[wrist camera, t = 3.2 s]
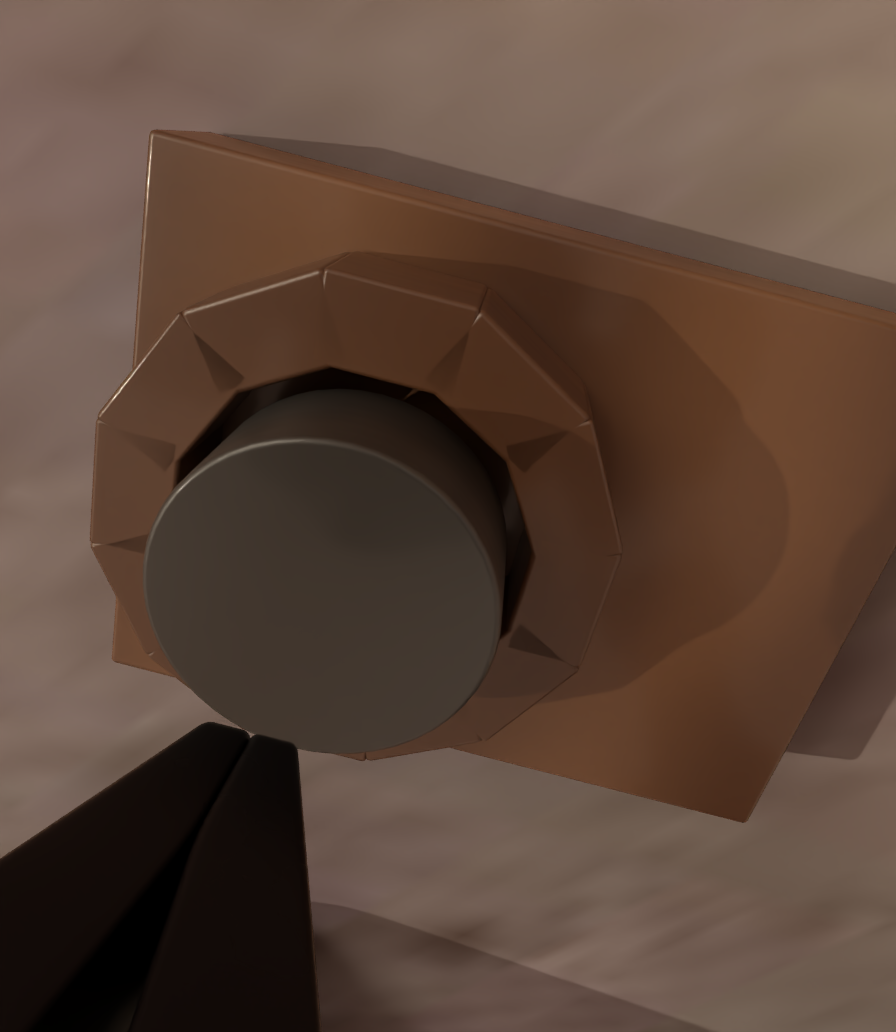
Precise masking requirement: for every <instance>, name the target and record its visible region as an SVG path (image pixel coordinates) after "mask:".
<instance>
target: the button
mask: <svg viewBox="0 0 896 1032" xmlns="http://www.w3.org/2000/svg"><path fill="white" fill-rule="evenodd" d="M506 553H507V534H506V523H505V518H504V513H503V509H502V505H501V502H500V499H499V497H498V494H497V491H496V488H495V486H494V484H493V482H492V480H491V479H490V477H489V475H488V473H487V471H486V469H485V468H484V466H483V465H482V463H481V462H480V461H479V459H478V458H477V456H476V455H475V454H474V452H473V451H472V450H471V449H470V448H469V447H468V446H467V445H466V444H465V443H464V442H463V440H462V439H461V438H460V437H459V436H458V435H456V434H455V433H454V432H453V431H452V430H450V429H449V428H448V427H447V426H446V425H444V424H443V423H442V422H440V421H439V420H437V419H436V418H434V417H433V416H431V415H429V414H428V413H426V412H425V411H423V410H421V409H419V408H417V407H415V406H412V405H410V404H408V403H406V402H404V401H401V400H398V399H395V398H392V397H389V396H386V395H383V394H378V393H373V392H368V391H363V390H352V389H326V390H315V391H310V392H305V393H300V394H296V395H293V396H290V397H288V398H285V399H282V400H279V401H277V402H275V403H273V404H271V405H269V406H267V407H265V408H263V409H261V410H259V411H258V412H257V413H255V414H254V415H252V416H251V417H250V418H248V419H247V420H245V421H244V422H243V423H242V424H241V425H240V426H239V427H238V428H237V429H236V430H235V431H233V432H232V433H231V434H230V435H229V436H228V437H227V438H226V439H225V440H224V441H223V442H222V443H221V444H220V445H219V446H218V447H217V448H215V449H214V450H213V451H212V452H211V453H210V454H209V455H208V456H207V457H206V458H205V459H204V460H203V461H202V462H201V463H200V464H199V465H197V466H196V467H195V468H194V469H193V470H192V471H191V472H190V473H189V474H188V475H187V476H186V477H185V478H184V479H183V480H182V481H181V482H180V483H179V484H178V485H177V486H176V487H175V488H174V489H173V491H172V492H171V493H170V495H169V496H168V497H167V499H166V500H165V501H164V503H163V504H162V506H161V508H160V510H159V512H158V514H157V516H156V518H155V520H154V521H153V524H152V527H151V530H150V533H149V536H148V539H147V542H146V548H145V554H144V560H143V591H144V599H145V606H146V610H147V613H148V617H149V620H150V624H151V627H152V629H153V632H154V634H155V636H156V639H157V641H158V643H159V645H160V647H161V649H162V651H163V652H164V654H165V656H166V657H167V659H168V661H169V663H170V664H171V665H172V667H173V668H174V669H175V671H176V672H177V673H178V675H179V676H180V677H181V679H182V680H183V681H184V682H185V683H186V684H187V685H188V686H189V687H190V688H191V689H192V691H193V692H194V693H195V694H196V695H197V696H198V697H199V698H201V699H202V700H203V701H204V702H205V703H207V704H208V705H209V706H210V707H211V708H212V709H214V710H215V711H216V712H218V713H219V714H221V715H222V716H224V717H225V718H227V719H228V720H230V721H231V722H233V723H234V724H236V725H238V726H240V727H242V728H244V729H245V730H247V731H249V732H251V733H253V734H256V735H257V734H261V735H265V736H269V737H273V738H277V739H281V740H285V741H289V742H292V743H294V744H295V746H296V748H297V749H302V750H307V751H312V752H322V753H332V754H355V753H364V752H373V751H379V750H383V749H387V748H391V747H396V746H399V745H401V744H404V743H407V742H410V741H412V740H415V739H417V738H419V737H421V736H423V735H425V734H427V733H429V732H431V731H433V730H434V729H436V728H437V727H439V726H440V725H442V724H443V723H445V722H446V721H447V720H449V719H450V718H451V717H452V716H453V715H455V714H456V713H457V712H458V711H459V710H460V709H461V708H462V707H463V706H464V705H465V704H466V703H467V702H468V701H469V700H470V698H471V697H472V696H473V695H474V694H475V692H476V691H477V690H478V689H479V687H480V685H481V684H482V682H483V680H484V679H485V677H486V675H487V674H488V672H489V670H490V667H491V665H492V662H493V660H494V657H495V655H496V652H497V648H498V643H499V639H500V635H501V625H502V612H503V597H504V582H505V567H506Z"/></svg>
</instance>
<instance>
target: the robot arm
mask: <svg viewBox="0 0 896 1032" xmlns="http://www.w3.org/2000/svg"><path fill="white" fill-rule="evenodd" d="M0 1032H321V1020H320V1008H319V996H318V984H317V973H316V961H315V949H314V937H313V926H312V914H311V902H310V890H309V878H308V867H307V855H306V843H305V831H304V820H303V808H302V796H301V784H300V772H299V761H298V750H297V748H296V746H295V744H294V743H292V742H289V741H285V740H281V739H277V738H273V737H269V736H265V735H261V734H257V735H254V736H252V737H251V738H250V736H249V734H248V733H247V732H246V731H245V730H242V729H238V728H234V727H230V726H226V725H222V724H218V723H214V722H207V723H203V724H201V725H199V726H198V727H196V728H195V729H193V730H192V731H190V732H189V733H187V734H186V735H184V736H183V737H181V738H180V739H178V740H177V741H175V742H174V743H172V744H171V745H169V746H168V747H166V748H165V749H163V750H162V751H160V752H159V753H157V754H156V755H154V756H153V757H152V758H150V759H149V760H147V761H146V762H144V763H143V764H141V765H140V766H138V767H137V768H135V769H134V770H132V771H131V772H129V773H128V774H126V775H125V776H123V777H122V778H120V779H119V780H117V781H116V782H114V783H113V784H111V785H110V786H108V787H107V788H105V789H104V790H102V791H101V792H99V793H98V794H96V795H95V796H93V797H92V798H90V799H89V800H87V801H86V802H84V803H83V804H81V805H80V806H78V807H77V808H75V809H74V810H72V811H71V812H69V813H68V814H66V815H65V816H63V817H62V818H60V819H59V820H57V821H56V822H54V823H53V824H51V825H50V826H48V827H47V828H45V829H44V830H42V831H41V832H39V833H38V834H36V835H35V836H33V837H32V838H30V839H29V840H27V841H26V842H24V843H23V844H21V845H20V846H18V847H17V848H15V849H14V850H12V851H11V852H9V853H8V854H6V855H5V856H3V857H2V858H0Z"/></svg>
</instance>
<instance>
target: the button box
mask: <svg viewBox="0 0 896 1032" xmlns="http://www.w3.org/2000/svg"><path fill="white" fill-rule="evenodd" d="M326 389H352V390H363V391H368V392H373V393H378V394H383V395H386V396H389V397H392V398H395V399H398V400H401V401H404V402H406V403H408V404H410V405H412V406H415V407H417V408H419V409H421V410H423V411H425V412H426V413H428V414H429V415H431V416H433V417H434V418H436V419H437V420H439V421H440V422H442V423H443V424H444V425H446V426H447V427H448V428H449V429H450V430H452V431H453V432H454V433H455V434H456V435H458V436H459V437H460V438H461V439H462V440H463V442H464V443H465V444H466V445H467V446H468V447H469V448H470V449H471V450H472V451H473V452H474V454H475V455H476V456H477V458H478V459H479V461H480V462H481V463H482V465H483V466H484V468H485V469H486V471H487V473H488V475H489V477H490V479H491V480H492V482H493V484H494V486H495V488H496V491H497V494H498V497H499V499H500V502H501V505H502V509H503V513H504V518H505V523H506V534H507V553H506V567H505V582H504V597H503V612H502V625H501V635H500V639H499V643H498V648H497V652H496V655H495V657H494V660H493V662H492V665H491V667H490V670H489V672H488V674H487V675H486V677H485V679H484V680H483V682H482V684H481V685H480V687H479V689H478V690H477V691H476V692H475V694H474V695H473V696H472V697H471V698H470V700H469V701H468V702H467V703H466V704H465V705H464V706H463V707H462V708H461V709H460V710H459V711H458V712H457V713H456V714H455V715H453V716H452V717H451V718H450V719H449V720H447V721H446V722H445V723H443V724H442V725H440V726H439V727H437V728H436V729H434V730H433V731H431V732H429V733H427V734H425V735H423V736H421V737H419V738H417V739H415V740H412V741H410V742H407V743H404V744H401V745H399V746H396V747H391V748H387V749H383V750H379V751H373V752H364V753H355V754H336V755H340V756H344V757H348V758H352V759H356V760H360V761H365V760H366V759H367V760H371V761H372V760H377V759H383V758H389V757H395V756H401V755H407V754H413V753H418V752H424V751H430V750H436V749H442V748H448V747H449V748H453V749H457V750H461V751H465V752H469V753H473V754H476V755H480V756H484V757H488V758H492V759H496V760H500V761H504V762H508V763H512V764H516V765H519V766H523V767H527V768H531V769H535V770H539V771H543V772H547V773H551V774H555V775H559V776H562V777H566V778H570V779H574V780H578V781H582V782H586V783H590V784H594V785H598V786H601V787H605V788H609V789H613V790H617V791H621V792H625V793H629V794H633V795H637V796H641V797H644V798H648V799H652V800H656V801H660V802H664V803H668V804H672V805H676V806H680V807H684V808H687V809H691V810H695V811H699V812H703V813H707V814H711V815H715V816H719V817H723V818H727V819H730V820H734V821H738V822H742V823H743V822H746V821H747V820H748V819H749V817H750V815H751V813H752V811H753V809H754V807H755V806H756V804H757V802H758V800H759V798H760V796H761V795H762V793H763V791H764V789H765V787H766V785H767V783H768V782H769V780H770V778H771V776H772V774H773V772H774V771H775V769H776V767H777V765H778V763H779V761H780V759H781V758H782V756H783V754H784V752H785V750H786V748H787V747H788V745H789V743H790V741H791V739H792V737H793V735H794V734H795V732H796V730H797V728H798V726H799V724H800V722H801V721H802V719H803V717H804V715H805V713H806V711H807V710H808V708H809V706H810V704H811V702H812V700H813V698H814V697H815V695H816V693H817V691H818V689H819V687H820V686H821V684H822V682H823V680H824V678H825V676H826V674H827V673H828V671H829V669H830V667H831V665H832V663H833V662H834V660H835V658H836V656H837V654H838V652H839V650H840V649H841V647H842V645H843V643H844V641H845V639H846V638H847V636H848V634H849V632H850V630H851V628H852V626H853V625H854V623H855V621H856V619H857V617H858V615H859V613H860V612H861V610H862V608H863V606H864V604H865V602H866V601H867V599H868V597H869V595H870V593H871V591H872V589H873V588H874V586H875V584H876V582H877V580H878V578H879V577H880V575H881V573H882V571H883V569H884V567H885V565H886V564H887V562H888V560H889V558H890V556H891V554H892V553H893V551H894V549H895V547H896V313H893V312H889V311H885V310H882V309H878V308H874V307H870V306H867V305H863V304H859V303H855V302H851V301H848V300H844V299H840V298H836V297H832V296H829V295H825V294H821V293H817V292H814V291H810V290H806V289H802V288H798V287H795V286H791V285H787V284H783V283H779V282H776V281H772V280H768V279H764V278H760V277H757V276H753V275H749V274H745V273H742V272H738V271H734V270H730V269H726V268H723V267H719V266H715V265H711V264H707V263H704V262H700V261H696V260H692V259H689V258H685V257H681V256H677V255H673V254H670V253H666V252H662V251H658V250H654V249H651V248H647V247H643V246H639V245H636V244H632V243H628V242H624V241H620V240H617V239H613V238H609V237H605V236H601V235H598V234H594V233H590V232H586V231H583V230H579V229H575V228H571V227H567V226H564V225H560V224H556V223H552V222H548V221H545V220H541V219H537V218H533V217H530V216H526V215H522V214H518V213H514V212H511V211H507V210H503V209H499V208H495V207H492V206H488V205H484V204H480V203H476V202H473V201H469V200H465V199H461V198H458V197H454V196H450V195H446V194H442V193H439V192H435V191H431V190H427V189H423V188H420V187H416V186H412V185H408V184H405V183H401V182H397V181H393V180H389V179H386V178H382V177H378V176H374V175H370V174H367V173H363V172H359V171H355V170H352V169H348V168H344V167H340V166H336V165H333V164H329V163H325V162H321V161H317V160H314V159H310V158H306V157H302V156H299V155H295V154H291V153H287V152H283V151H280V150H276V149H272V148H268V147H264V146H261V145H257V144H253V143H249V142H245V141H242V140H238V139H234V138H230V137H227V136H223V135H219V134H215V133H211V132H195V131H175V130H152V131H151V132H150V135H149V146H148V160H147V174H146V188H145V202H144V216H143V230H142V244H141V258H140V272H139V286H138V300H137V314H136V328H135V342H134V356H133V370H132V371H131V372H130V374H129V375H128V376H127V377H126V379H125V380H124V381H123V382H122V384H121V385H120V386H119V388H118V389H117V390H116V391H115V393H114V394H113V395H112V397H111V398H110V399H109V400H108V402H107V403H106V404H105V406H104V407H103V408H102V409H101V411H100V412H99V414H98V419H97V421H96V434H95V453H94V472H93V490H92V509H91V528H90V541H91V542H92V543H91V548H92V550H93V552H94V554H95V556H96V558H97V560H98V562H99V564H100V566H101V568H102V570H103V572H104V573H105V575H106V577H107V579H108V581H109V583H110V585H111V587H112V589H113V591H114V593H115V595H116V609H115V623H114V637H113V651H112V660H113V661H114V662H117V663H121V664H125V665H129V666H133V667H137V668H141V669H144V670H148V671H152V672H156V673H160V674H164V675H168V676H172V677H175V678H177V679H178V680H179V681H181V682H182V683H183V684H185V685H186V686H187V687H189V686H188V685H187V684H186V683H185V682H184V681H183V680H182V679H181V677H180V676H179V675H178V673H177V672H176V671H175V669H174V668H173V667H172V665H171V664H170V663H169V661H168V659H167V657H166V656H165V654H164V652H163V651H162V649H161V647H160V645H159V643H158V641H157V639H156V636H155V634H154V632H153V629H152V627H151V624H150V620H149V617H148V613H147V610H146V606H145V599H144V591H143V560H144V554H145V548H146V542H147V539H148V536H149V533H150V530H151V527H152V524H153V521H154V520H155V518H156V516H157V514H158V512H159V510H160V508H161V506H162V504H163V503H164V501H165V500H166V499H167V497H168V496H169V495H170V493H171V492H172V491H173V489H174V488H175V487H176V486H177V485H178V484H179V483H180V482H181V481H182V480H183V479H184V478H185V477H186V476H187V475H188V474H189V473H190V472H191V471H192V470H193V469H194V468H195V467H196V466H197V465H199V464H200V463H201V462H202V461H203V460H204V459H205V458H206V457H207V456H208V455H209V454H210V453H211V452H212V451H213V450H214V449H215V448H217V447H218V446H219V445H220V444H221V443H222V442H223V441H224V440H225V439H226V438H227V437H228V436H229V435H230V434H231V433H232V432H233V431H235V430H236V429H237V428H238V427H239V426H240V425H241V424H242V423H243V422H244V421H245V420H247V419H248V418H250V417H251V416H252V415H254V414H255V413H257V412H258V411H259V410H261V409H263V408H265V407H267V406H269V405H271V404H273V403H275V402H277V401H279V400H282V399H285V398H288V397H290V396H293V395H296V394H300V393H305V392H310V391H315V390H326ZM189 688H190V687H189ZM190 689H191V688H190ZM191 690H192V689H191ZM239 727H240V726H239ZM241 728H242V727H241ZM242 729H244V728H242ZM244 730H245V729H244ZM250 733H251V732H250Z"/></svg>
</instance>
